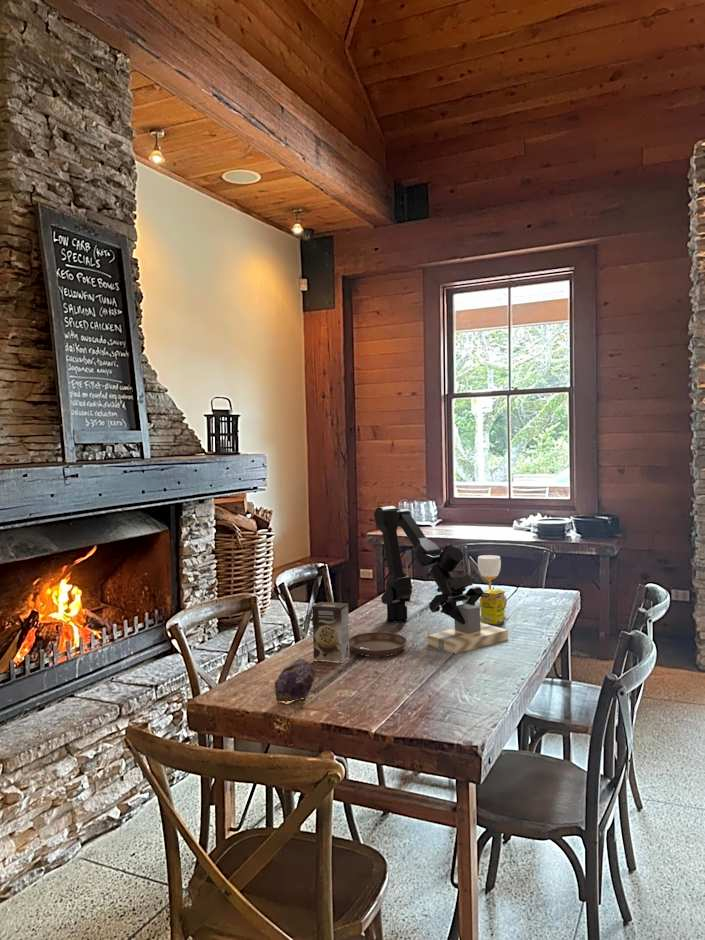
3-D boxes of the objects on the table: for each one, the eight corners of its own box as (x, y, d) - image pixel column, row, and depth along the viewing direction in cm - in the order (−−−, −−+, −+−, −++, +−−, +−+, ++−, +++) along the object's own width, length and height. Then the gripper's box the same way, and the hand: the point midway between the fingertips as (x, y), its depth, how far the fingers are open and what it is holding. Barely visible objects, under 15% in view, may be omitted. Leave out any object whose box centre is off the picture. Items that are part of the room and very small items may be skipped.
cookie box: (312, 661, 207) (310, 606, 206) (321, 655, 213) (319, 600, 212) (342, 664, 204) (340, 607, 203) (350, 657, 210) (348, 602, 209)
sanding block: (454, 631, 222) (454, 606, 221) (466, 628, 225) (466, 603, 224) (468, 636, 217) (467, 609, 216) (480, 632, 220) (479, 606, 219)
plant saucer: (418, 651, 214) (418, 641, 214) (368, 663, 205) (368, 652, 205) (385, 638, 229) (385, 628, 229) (337, 648, 220) (336, 638, 220)
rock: (270, 708, 176) (308, 711, 173) (266, 676, 174) (304, 678, 171) (289, 685, 187) (326, 687, 183) (285, 654, 185) (322, 656, 182)
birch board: (455, 654, 210) (454, 643, 209) (427, 644, 219) (427, 635, 219) (508, 639, 222) (507, 629, 222) (479, 631, 232) (479, 622, 232)
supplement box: (497, 627, 237) (496, 594, 236) (480, 624, 240) (479, 592, 240) (505, 622, 241) (504, 590, 241) (488, 620, 245) (488, 588, 244)
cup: (506, 597, 277) (505, 556, 276) (493, 602, 270) (492, 559, 269) (486, 594, 283) (485, 554, 282) (473, 599, 276) (472, 557, 276)
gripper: (434, 569, 218) (460, 612, 209) (478, 561, 228) (505, 601, 220) (417, 590, 224) (442, 633, 216) (462, 582, 235) (487, 622, 227)
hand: (470, 622), depth 219 cm, fingers closed on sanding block, 5 cm apart
